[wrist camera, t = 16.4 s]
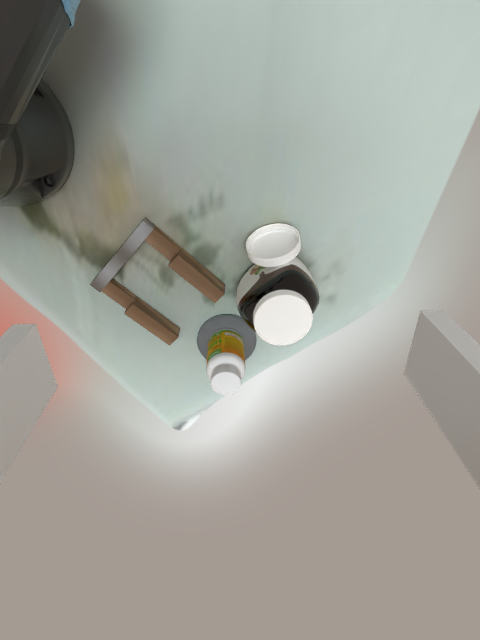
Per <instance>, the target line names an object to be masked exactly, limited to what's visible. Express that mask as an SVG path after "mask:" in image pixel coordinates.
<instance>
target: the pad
mask: <svg viewBox="0 0 480 640" xmlns="http://www.w3.org/2000/svg"><path fill="white" fill-rule="evenodd" d="M225 328H226V329H232V330H235V331H236V332H238V333H239V334H240V335H241V337H242V339H243V343H244V357H245V360H246V359H247V358H248V357H249V356H250V355H251V354H252V353H253V351H254V349H255V346H256V336H255V332H254V331H253V330H252V329H251V328H250V327H249V326H248V325H247V324H246V322H245V321H244V320H243V318H241V317H239V316H236V315H231V314H222V315H217V316H214V317H212V318H210V319H209V320H207V321H206V322H205V323H204V324H203V325H202V327H201V328H200V330H199V333H198V339H197V344H198V348H199V350H200V352H201V354H202V355H203V356H204V357H205V358H206V359H207V353H208V342H209V338H210V336H211V335H212V334H213V333H214V332H215V331H217V330H219V329H225Z"/></svg>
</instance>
